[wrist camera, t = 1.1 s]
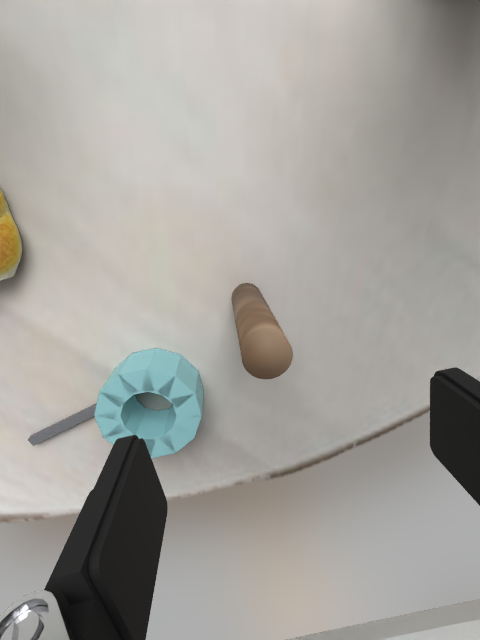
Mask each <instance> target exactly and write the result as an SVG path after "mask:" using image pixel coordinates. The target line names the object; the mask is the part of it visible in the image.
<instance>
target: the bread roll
mask: <svg viewBox="0 0 480 640" xmlns="http://www.w3.org/2000/svg"><path fill="white" fill-rule="evenodd" d="M21 254H22V242H21V238H20V234H19V231H18V228H17V226H16V224H15V222H14V220H13V218H12V216H11V213H10V211H9V208H8V205H7V202H6V200H5V197H4V195H3V193H2V191H1V189H0V281H1V280H3V279H8V278H11V277H13V276H14V275H15V272H16V270H17V267H18V264H19V261H20V259H21Z"/></svg>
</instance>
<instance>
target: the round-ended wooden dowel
mask: <svg viewBox="0 0 480 640" xmlns="http://www.w3.org/2000/svg"><path fill="white" fill-rule="evenodd" d="M232 303H233V309H234V315H235V321H236V327H237V333H238V339H239V344H240V350H241V356H242V362H243V365H244V367H245V369H246V370H247V371H248V372H249V373H250V374H251V375H252V376H254V377H257V378H260V379H272V378H275V377H278V376H280V375H281V374H283V373H284V372H285V371H286V370H287V369H288V367H289V366H290V364H291V361H292V357H293V352H292V348H291V345H290V343H289V342H288V340H287V338H286V336H285V335H284V333H283V331H282V329H281V328H280V326H279V324H278V322H277V321H276V319H275V317H274V315H273V313H272V312H271V310H270V308H269V306H268V305H267V303H266V301H265V299H264V298H263V296H262V294H261V292H260V291H259V289H258V288H257V287H256V286H255V285H253V284H249V283H245V284H241V285H239V286H238V287H236V289H235V290H234V291H233V294H232Z"/></svg>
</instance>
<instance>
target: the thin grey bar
mask: <svg viewBox="0 0 480 640" xmlns="http://www.w3.org/2000/svg"><path fill="white" fill-rule="evenodd" d="M96 405H97V403H96V404H94V405H92V406H90V407H88V408H86V409H84V410H82V411H80V412H78V413H76V414H74V415H72V416H70V417H68V418H66V419H64V420H62V421H60V422H58V423H56V424H54V425H52V426H50V427H48V428H45V429H43V430H41V431H39V432H37V433H35V434H33V435H31V436H30V438H29V439H28V441H29V442H30V443H31V444H32V445H33V446H34V445H36V444H38V443H40V442H42V441H44V440H46V439H48V438H50V437H52V436H54V435H56V434H58V433H60V432H62V431H64V430H66V429H68V428H71V427H73V426H75V425H77V424H79V423H81V422H83V421H85V420H87V419H89V418H91V417H93V416H94V414H95V409H96Z"/></svg>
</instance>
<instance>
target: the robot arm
mask: <svg viewBox="0 0 480 640" xmlns="http://www.w3.org/2000/svg"><path fill="white" fill-rule="evenodd" d="M430 447H431V450H432V452H433V454H434V455H435V456H436V458H437V459H438V460H439V461H440V462H441V463H442V464H443V465H444V466H445V468H446V469H447V470H448V471H449V472H450V473H451V474H452V475H453V476H454V478H455V479H456V480H457V481H458V482H459V483H460V484H461V485H462V486H463V488H464V489H465V490H466V491H467V492H468V493H469V494H470V495H471V496H472V497H473V499H474V500H476V502H477V503H478V504H479V505H480V382H479V381H478V380H476V379H475V378H473V377H471V376H470V375H468V374H467V373H465V372H464V371H462V370H460V369H458V368H450V369H445V370H441V371H437V372H436V373H435V374H434V377H432V378H431V380H430ZM166 517H167V500H166V497H165V495H164V492H163V489H162V486H161V484H160V481H159V478H158V476H157V473H156V470H155V467H154V465H153V462H152V459H151V457H150V454H149V451H148V449H147V446H146V443H145V441H144V439H143V438H140V439H139V438H138V436H137V435H132V436H127V437H122V438H118V439H117V440H116V441H115V443H114V445H113V448H112V450H111V452H110V454H109V456H108V459H107V461H106V463H105V465H104V467H103V470H102V472H101V474H100V476H99V478H98V480H97V483H96V485H95V487H94V489H93V490H92V491H91V492H90V493H89V495H88V497H87V499H86V501H85V503H84V506H83V508H82V510H81V512H80V514H79V517H78V518H77V521H76V523H75V525H74V527H73V529H72V531H71V533H70V536H69V538H68V540H67V542H66V544H65V546H64V549H63V551H62V553H61V555H60V557H59V560H58V561H57V564H56V566H55V568H54V570H53V572H52V574H51V577H50V579H49V581H48V583H47V585H46V587H45V589H44V590H42V591H34V592H32V593H30V594H27V595H25V596H23V597H22V598H20V599H19V600H17V601H16V602H14V603H13V604H12V605H11V606H10V607H8V608H7V609H6V610H5V611H4V612H3V613H2V614H1V615H0V640H145V639H146V633H147V627H148V621H149V615H150V610H151V604H152V598H153V592H154V587H155V581H156V575H157V569H158V563H159V557H160V551H161V546H162V540H163V534H164V528H165V523H166ZM287 640H480V599H478V600H473V601H468V602H463V603H458V604H453V605H449V606H443V607H439V608H434V609H429V610H424V611H419V612H415V613H410V614H405V615H400V616H395V617H391V618H386V619H381V620H377V621H372V622H367V623H363V624H357V625H353V626H348V627H343V628H339V629H334V630H329V631H324V632H320V633H315V634H310V635H305V636H301V637H296V638H292V639H287Z"/></svg>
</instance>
